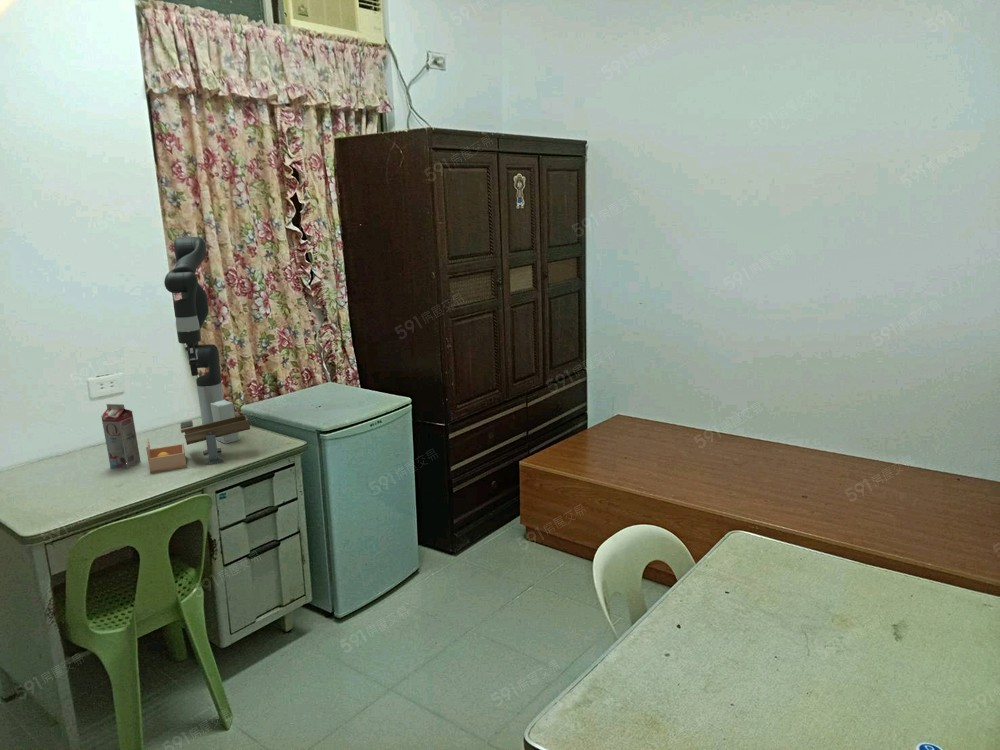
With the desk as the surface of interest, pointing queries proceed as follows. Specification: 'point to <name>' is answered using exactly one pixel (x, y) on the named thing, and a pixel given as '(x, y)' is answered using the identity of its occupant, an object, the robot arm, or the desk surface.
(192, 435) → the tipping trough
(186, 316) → the robot arm
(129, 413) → the juice carton
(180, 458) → the cup
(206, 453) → the lever stand
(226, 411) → the skincare box
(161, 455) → the ball
